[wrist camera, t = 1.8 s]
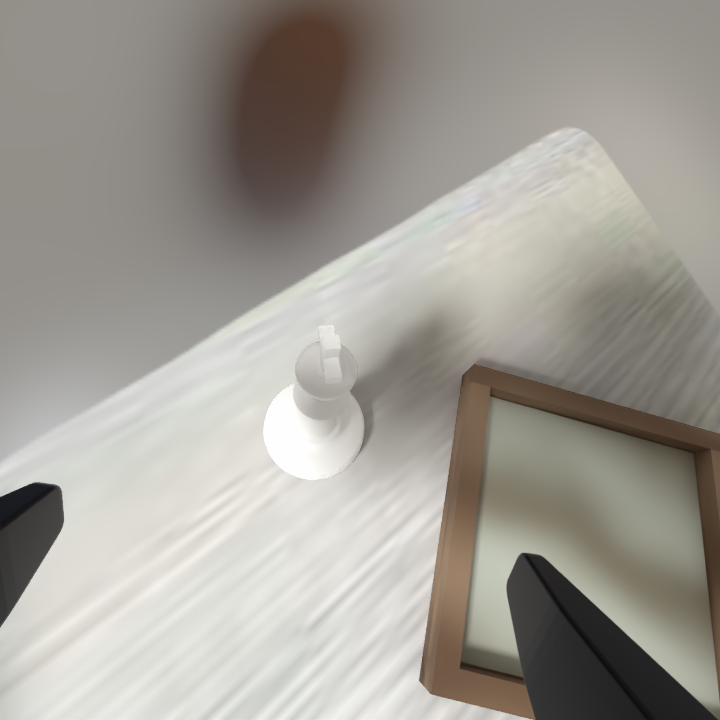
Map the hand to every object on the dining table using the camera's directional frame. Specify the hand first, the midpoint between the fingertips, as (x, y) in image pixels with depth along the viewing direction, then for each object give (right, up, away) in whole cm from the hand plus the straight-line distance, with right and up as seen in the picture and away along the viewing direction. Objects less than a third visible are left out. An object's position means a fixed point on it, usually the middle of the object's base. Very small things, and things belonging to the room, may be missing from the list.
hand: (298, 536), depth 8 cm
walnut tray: (+12, -5, +12) cm, 18 cm away
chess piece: (-1, 0, +13) cm, 13 cm away
